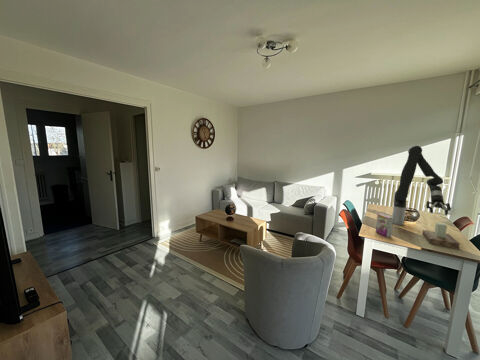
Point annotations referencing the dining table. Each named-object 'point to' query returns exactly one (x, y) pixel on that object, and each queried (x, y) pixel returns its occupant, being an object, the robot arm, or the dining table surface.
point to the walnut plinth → (440, 239)
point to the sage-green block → (440, 230)
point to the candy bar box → (384, 225)
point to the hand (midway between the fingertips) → (439, 213)
